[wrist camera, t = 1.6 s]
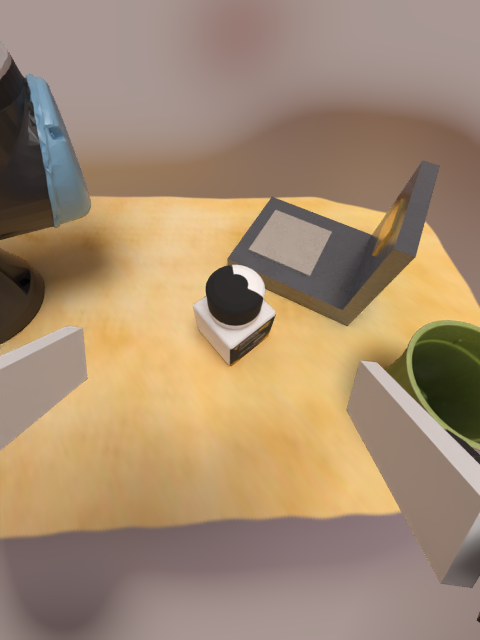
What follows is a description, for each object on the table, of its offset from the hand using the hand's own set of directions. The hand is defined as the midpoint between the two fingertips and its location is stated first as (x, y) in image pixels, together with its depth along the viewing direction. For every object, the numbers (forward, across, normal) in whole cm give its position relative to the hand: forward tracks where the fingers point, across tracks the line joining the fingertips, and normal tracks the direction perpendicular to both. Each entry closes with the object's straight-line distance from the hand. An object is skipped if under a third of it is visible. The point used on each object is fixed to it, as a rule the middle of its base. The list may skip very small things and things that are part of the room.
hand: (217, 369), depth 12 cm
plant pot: (+18, +22, -12) cm, 31 cm away
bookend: (+33, +10, +4) cm, 34 cm away
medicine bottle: (+23, 0, -7) cm, 24 cm away
